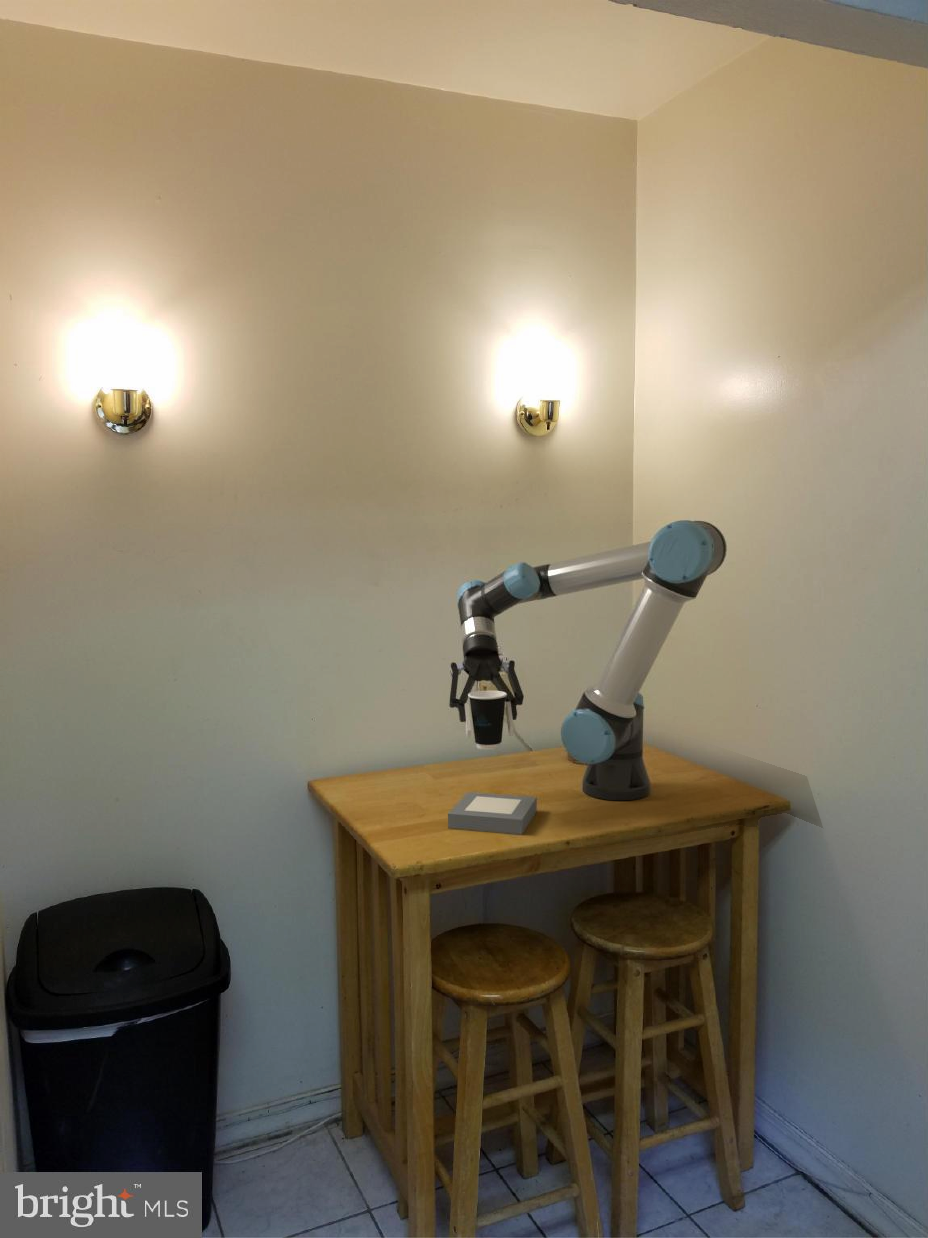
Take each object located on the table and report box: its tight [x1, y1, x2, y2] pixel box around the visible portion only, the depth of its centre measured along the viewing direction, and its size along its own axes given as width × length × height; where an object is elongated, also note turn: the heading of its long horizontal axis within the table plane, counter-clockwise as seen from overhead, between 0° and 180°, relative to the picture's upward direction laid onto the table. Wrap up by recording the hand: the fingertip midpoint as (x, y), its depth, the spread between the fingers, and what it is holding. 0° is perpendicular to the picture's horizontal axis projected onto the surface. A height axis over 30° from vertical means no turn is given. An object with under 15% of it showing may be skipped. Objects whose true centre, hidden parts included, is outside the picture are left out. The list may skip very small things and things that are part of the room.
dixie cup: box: [468, 689, 507, 751], centre depth 188 cm, size 8×8×11 cm
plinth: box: [447, 791, 538, 836], centre depth 189 cm, size 15×15×3 cm
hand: (490, 733), depth 185 cm, fingers closed on dixie cup, 8 cm apart
